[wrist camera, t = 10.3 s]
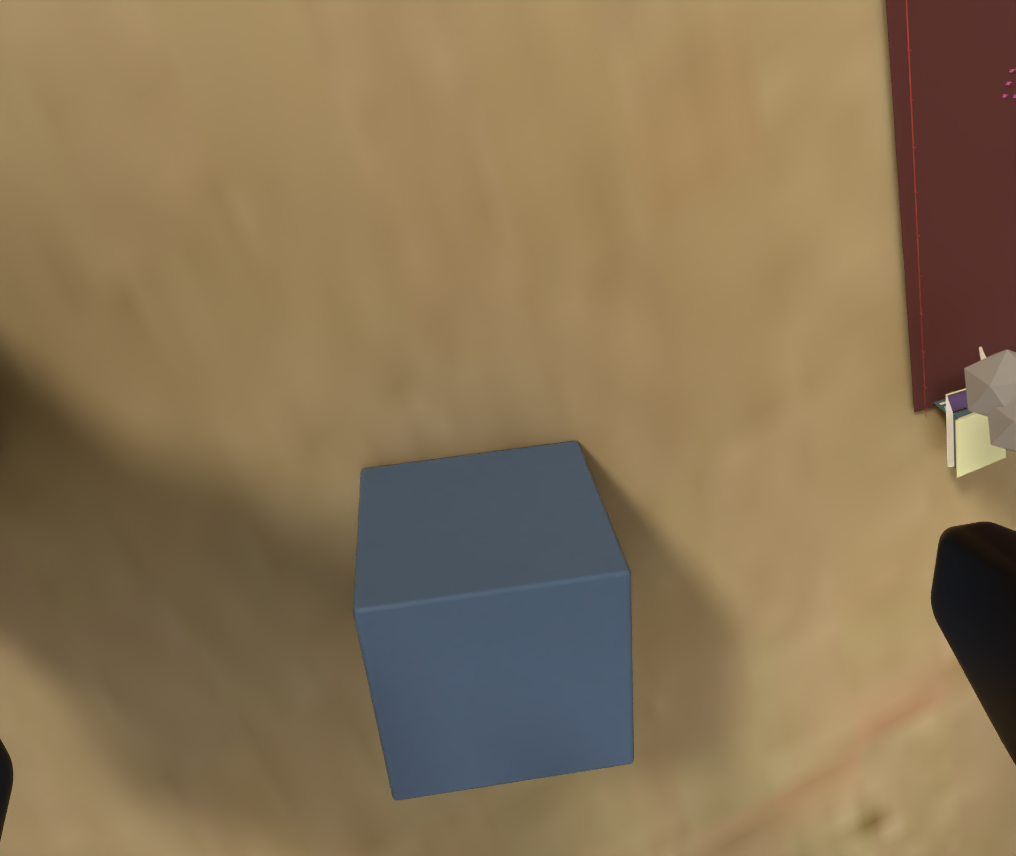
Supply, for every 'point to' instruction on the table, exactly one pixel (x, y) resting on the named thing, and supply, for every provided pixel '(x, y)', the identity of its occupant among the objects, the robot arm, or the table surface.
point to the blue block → (493, 619)
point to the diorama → (959, 214)
